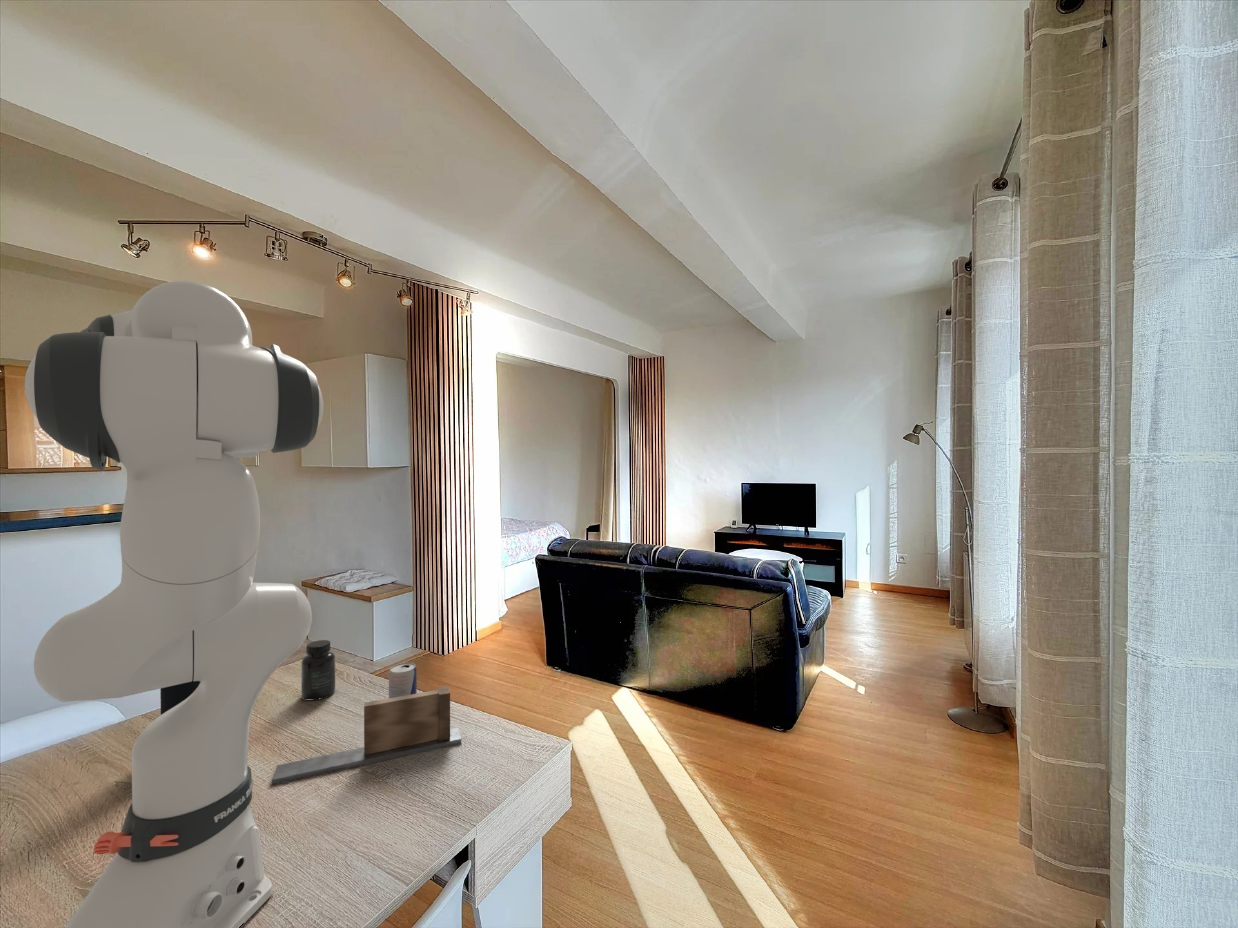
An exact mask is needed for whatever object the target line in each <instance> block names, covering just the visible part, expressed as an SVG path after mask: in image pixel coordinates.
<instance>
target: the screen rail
mask: <svg viewBox="0 0 1238 928" xmlns="http://www.w3.org/2000/svg"><path fill="white" fill-rule="evenodd" d="M461 736H462V735H461V732H460V727H454V728H450V739H447V740H442V741H439V739H438V740H433V741H428V742H423V743H419V744H414V745H409V746H405V747H400V748H395V749H391V750H386V751H381V752H377V753H372V754H367V755H364V746H363V747H359V748H355V749H348V750H344V751H340V752H335V753H331V754H330V753H329V754H324V755H319V756H314V757H311V758H310V757H309V758H306V759H301V760H296V761H290V762H286V763H282V764H278V765H276V767H275V770H274V773H273V775H272V778H271V786H274V785H278V784H282V783H287V782H292V781H297V780H302V779H305V778H311V777H315V776H319V775H320V776H321V775H324V774H328V773H333V772H337V771H342V770H346V769H351V768H352V769H353V768H355V767H356V768H357V767H360V766H361V767H362V766H365V765H369V764H373V763H379V762H383V761H388V760H392V759H396V758H401V757H405V756H406V757H407V756H410V755H416V754H418V753H423V752H428V751H433V750H437V749H441V748H442V749H443V748H446V747H451V746H455V745H459V744H460V745H461V744H462V737H461Z"/></svg>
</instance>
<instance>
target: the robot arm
mask: <svg viewBox="0 0 1238 928" xmlns="http://www.w3.org/2000/svg"><path fill="white" fill-rule="evenodd" d="M253 341H254V340H253V333H252V328H251V324H250V323H249V320H248V318H247V316H246V314H245V312H244V311H243V310H242V309H241V307H240V306H239V305H238V304H237V303H236V302H235V301H234V300H233V299H232V298H231V297H230V296H228V295H227V294H225V293H224V292H222V291H221V290H219V289H217V288H215V287H212V286H210V285H207V284H204V283H200V282H196V281H189V280H174V281H168V282H163V283H161V284H159V285H157V286H154V287H152V288H151V289H149V290H148V291H146V292H145V293H143V295H141V296H140V298H139V299H138V300H137V301H136V302H135V304H134V305H133V308H132V309H131V310H127V311H123V312H118V313H114V314H112V315H111V314H108V315H103V316H99V317H96V318H95V319H93V320H92V321H91V323H89V325H88V327H86V328H84V329H83V330H81V331H76V332H63V333H56V334H52V335H51V336H50V337H48V338H47V339H45V340H44V341H43V342H41V343H40V344H39V346H38V348H37V350H36V354H35V355H34V356H33V358H32V359H31V361H30V363H29V364H28V367H27V370H26V373H25V378H24V391H25V396H26V399H27V403H28V405H29V407H30V410H31V412H32V413H33V414H34V416H35V417H36V419H37V421H38V424H39V427H40V429H42V431H43V432H44V433H46V435H48V436H49V437H50V438H51V439H52V440H54V441H55V442H56V443H58V444H59V445H61V446H62V447H63V448H65V449H66V450H68V451H70V452H73V453H75V454H78V455H80V456H82V457H85V458H88V459H89V462H90V465H91V467H92V468H93V469H96V470H99V471H105V469H106V467H107V462H108V458H109V459H111V460H114V461H115V462H117V463H118V464H120V463H121V464H122V465H123V466H124V468H125V471H126V491H125V496H124V502H123V507H122V512H121V518H120V528H119V529H120V530H119V531H120V532H119V537H120V538H119V539H120V540H119V541H120V552H121V553H120V554H121V578H120V583H119V584H118V586H116V587H115V588H114V589H113V590H112V591H111V592H110V593H107V595H105V596H103V597H102V598H100V599H99V600H97V601H95V602H93V603H91V604H89V605H88V606H85V607H83V608H80V609H78V610H76V611H73V612H70V613H68V614H65V615H64V616H62V617H61V618H60V619H58V621H56V622H55V623H54V624H53V625H52V626H51V627H50V628H49V629H48V630H47V631H46V632H45V634H44V636H43V637H42V638H41V640H40V641H39V644H38V645H37V648H36V650H35V653H34V658H33V659H34V660H33V671H34V675H35V679H36V681H37V682H38V685H39V686H40V687H41V688H42V690H43V691H44V692H45V693H46V694H47V695H49V697H51V698H53V699H55V700H57V701H59V702H62V703H71V702H85V701H98V700H109V699H119V698H120V699H121V698H124V697H130V696H135V695H137V694H138V695H139V694H142V693H146V692H151V691H155V690H160V689H161V688H165V687H170V686H174V685H178V684H183V683H187V682H192V677H193V681H200V684H199V686H198V687H197V688H196V690H195V691H194V692H193V693H192V694H191V695H190V696H189V697H188V698H187V699H185V700H184V701H182V702H181V703H179V704H178V705H176V706H175V707H173V708H171V709H170V710H168V711H167V712H165V713H163V714H162V715H161V714H160V715H159V716H158V717H156V718H155V719H154V720H153V721H152V722H150V723H149V724H148V725H147V726H146V727H145V729H143V731H142V732H141V733H140V734H139V736H138V737H137V738H136V741H135V743H134V745H133V747H132V750H131V799H132V803H131V804H130V805H129V807H128V809H127V812H126V815H125V818H124V822H123V823H122V828H121V831H120V832H114V831H106V832H104V833H102V834H101V835H100V836H99V837H98V838H97V839H96V843H95V844H94V847H93V851H94V852H93V854H96V855H104V854H111V855H114V856H113V858H112V859H111V861H110V862H109V864H108V865H107V867H105V868H104V870H103V872H102V873H101V875H100V876H99V878H98V879H97V881H96V882H95V883H94V885H93V886H92V888H91V889H90V891H89V892H88V894H87V895H86V897H85V898H84V900H83V901H82V902H81V904H80V905H79V907H78V908H77V910H76V911H75V913H73V915H72V917H71V918H70V920H69V921H68V922H67V924H66V925H65V927H64V928H238V927H240V925H241V924H243V923H244V924H245V923H247V921H248V920H249V919H250V918H251V917H252V916H253V915H254V914H255V913H256V912H257V911H258V910H259V909H260V907H262V905H263V904H264V903H265V902H266V901H267V900H268V899H269V898H271V896H272V894H273V891H274V890H273V882H272V881H271V880H270V878H269V877H268V876H266V874H265V868H264V860H263V851H262V850H263V849H262V842H261V836H260V830H259V829H260V828H259V827H258V825H257V822H256V820H255V818H254V815H253V813H252V809H251V807H250V803H251V802H252V799H253V787H254V779H253V778H252V769H251V767H250V766H249V765H248V755H249V754H248V753H249V752H248V751H249V750H248V749H249V736H250V735H249V734H250V727H251V726H250V725H251V718H252V713H253V711H254V706H255V703H256V701H257V700H258V697H259V695H260V693H261V692H262V689H264V686H265V685H266V683H267V682H268V681H269V679H270V678H271V677H272V675H273V674H274V673H275V672H276V671H277V669H278V668H279V667H280V666H281V665H282V664H284V662H285V661H286V660H287V659H288V658H290V657H291V656H292V655H293V654H294V653H296V652H297V651H298V650H299V649H300V648H301V646H303V644H304V642H305V641H306V639H307V637H308V635H309V633H310V630H311V627H312V622H313V612H312V607H311V603H310V601H309V598H308V597H307V595H306V594H305V593H304V592H303V591H302V590H301V589H300V588H299V587H298V586H297V585H295V584H293V583H284V582H283V583H280V582H253V581H254V578H255V573H256V567H257V565H256V564H257V559H258V550H259V545H260V535H261V509H260V508H261V507H260V499H259V495H258V490H257V486H256V481H255V478H254V476H253V474H252V472H251V471H250V470H249V468H248V467H247V466H246V464H244V463H243V462H242V461H240V460H239V459H241V458H243V459H245V458H248V459H249V458H250V459H252V458H256V456H258V455H259V454H260V452H263V451H264V452H265V451H271V453H273V454H275V453H284V452H285V453H286V452H289V451H294V450H299V449H303V448H306V447H307V446H308V445H309V444H310V443H311V442H312V441H313V440H315V437H316V435H317V431H318V429H319V427H320V425H321V422H322V419H323V415H324V399H323V394H322V391H321V388H320V386H319V383H318V378H317V376H316V375H315V373H314V372H313V371H312V370H311V369H309V368H308V367H307V365H306V364H304V363H303V362H302V361H300V360H298V359H296V358H294V357H292V356H290V355H287V354H285V353H283V352H282V350H281V348H280V346H279V345H276V344H275V343H271V345H270V348H267V347H264V346H259V347H258V346H254V345H253ZM238 458H239V459H238ZM244 924H243V925H244ZM240 928H241V927H240Z"/></svg>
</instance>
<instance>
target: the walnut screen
mask: <svg viewBox="0 0 1238 928" xmlns="http://www.w3.org/2000/svg"><path fill="white" fill-rule="evenodd" d="M363 705H364V706H363V743H364V744H363V747H364V755H367V754H372V753H377V752H381V751H386V750H391V749H395V748H400V747H405V746H409V745H414V744H419V743H423V742H428V741H433V740H438V739H439V741H442V740H447V739H450V729H451V690H450V686H449V685H448V686H444V687H438V688H437V689H434V690H429V691H424V692H417V694H411V695H406V696H400V697H394V698H389V697H388V698H384V699H383V698H382V699H379V700H373V701H367V702H366V701H365V702H364V704H363Z"/></svg>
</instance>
